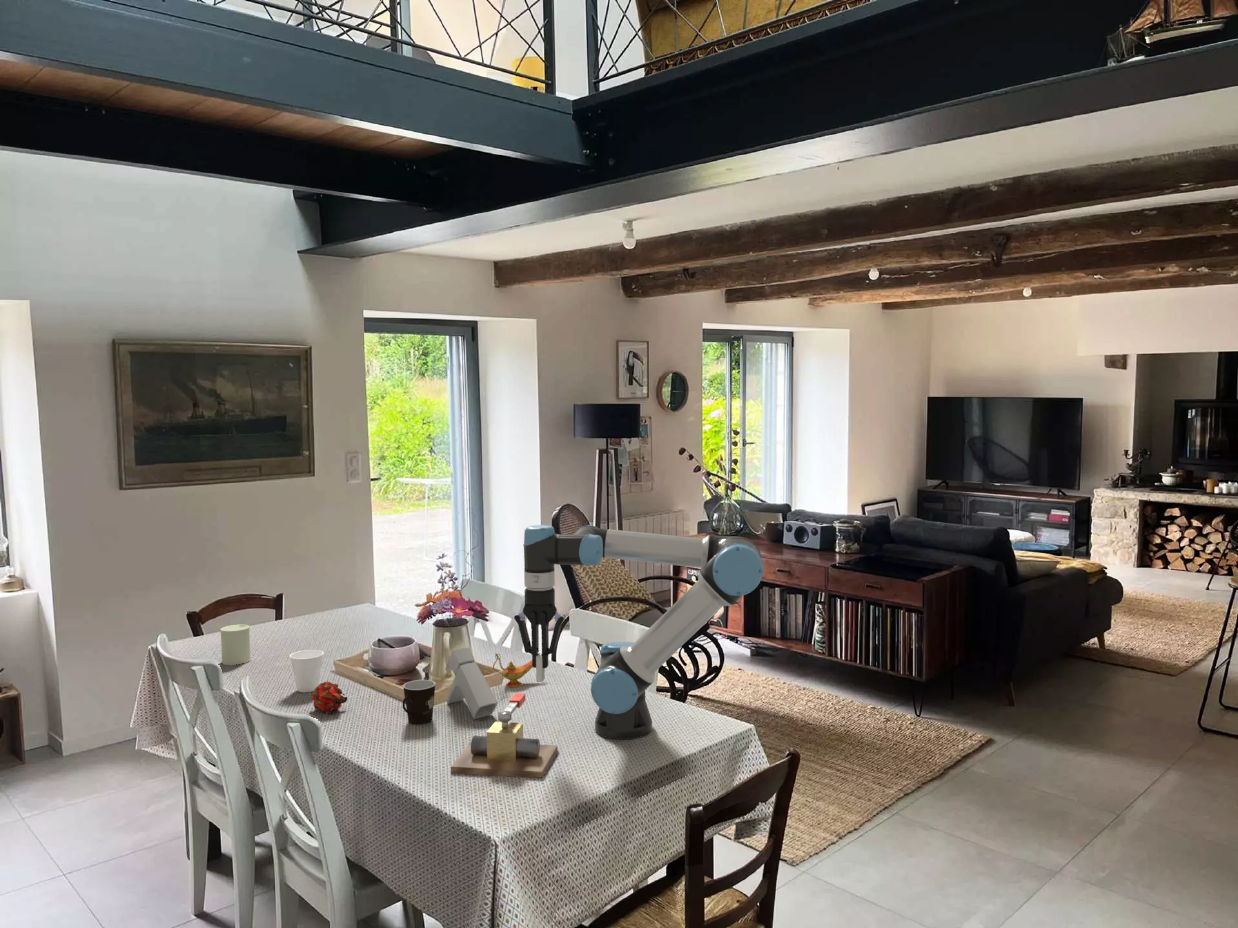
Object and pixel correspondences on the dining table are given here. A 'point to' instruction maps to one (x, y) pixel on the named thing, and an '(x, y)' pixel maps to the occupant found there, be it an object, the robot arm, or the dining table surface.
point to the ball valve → (505, 743)
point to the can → (235, 644)
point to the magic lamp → (513, 672)
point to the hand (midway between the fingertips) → (540, 680)
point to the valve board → (505, 764)
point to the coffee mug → (419, 701)
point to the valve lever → (511, 707)
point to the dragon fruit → (328, 697)
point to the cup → (306, 669)
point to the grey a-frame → (470, 684)
